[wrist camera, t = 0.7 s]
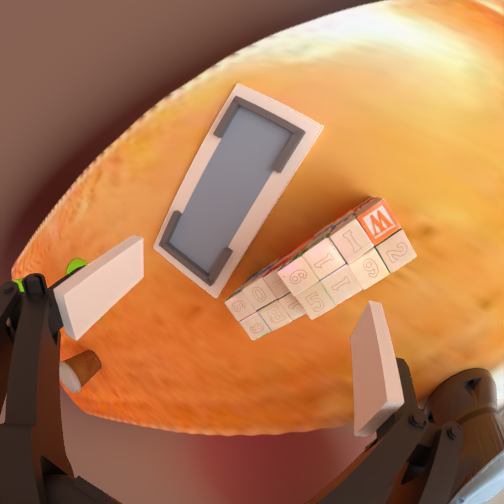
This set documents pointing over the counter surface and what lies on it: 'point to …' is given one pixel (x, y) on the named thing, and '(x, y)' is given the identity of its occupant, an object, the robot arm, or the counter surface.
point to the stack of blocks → (323, 270)
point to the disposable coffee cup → (78, 370)
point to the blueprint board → (233, 185)
